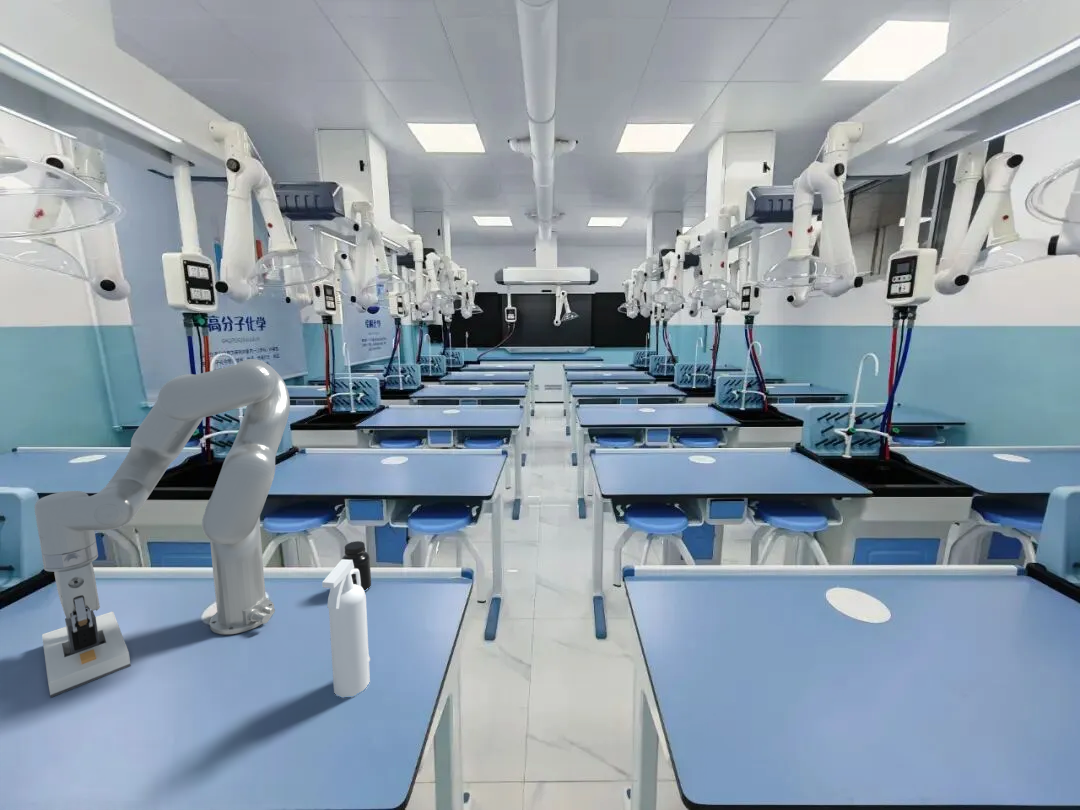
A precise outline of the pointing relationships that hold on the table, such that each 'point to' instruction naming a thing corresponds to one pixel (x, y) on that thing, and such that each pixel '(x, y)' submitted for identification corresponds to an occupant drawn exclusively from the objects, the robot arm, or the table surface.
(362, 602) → the white spray bottle
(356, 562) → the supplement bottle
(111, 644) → the switch panel
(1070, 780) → the table surface
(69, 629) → the block
